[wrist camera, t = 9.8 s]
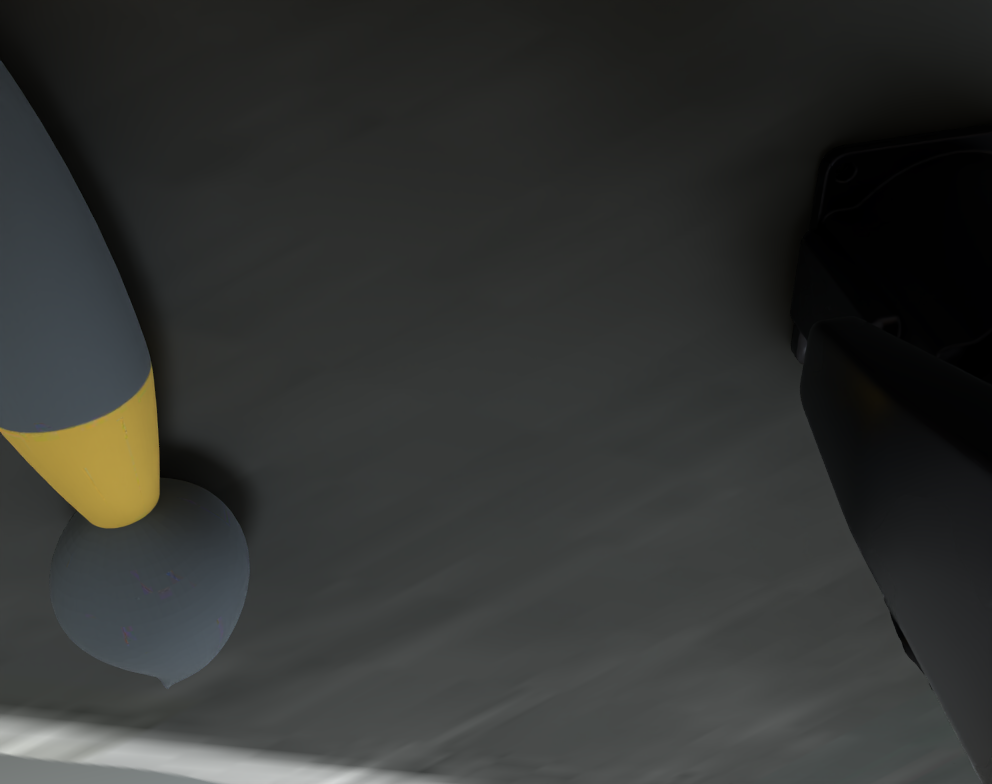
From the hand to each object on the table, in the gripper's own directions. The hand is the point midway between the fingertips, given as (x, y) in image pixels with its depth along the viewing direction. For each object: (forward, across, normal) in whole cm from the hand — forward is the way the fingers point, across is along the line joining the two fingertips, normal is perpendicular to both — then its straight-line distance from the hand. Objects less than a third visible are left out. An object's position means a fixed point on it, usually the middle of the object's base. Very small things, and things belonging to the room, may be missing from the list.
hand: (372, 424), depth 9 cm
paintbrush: (+13, +8, +8) cm, 17 cm away
